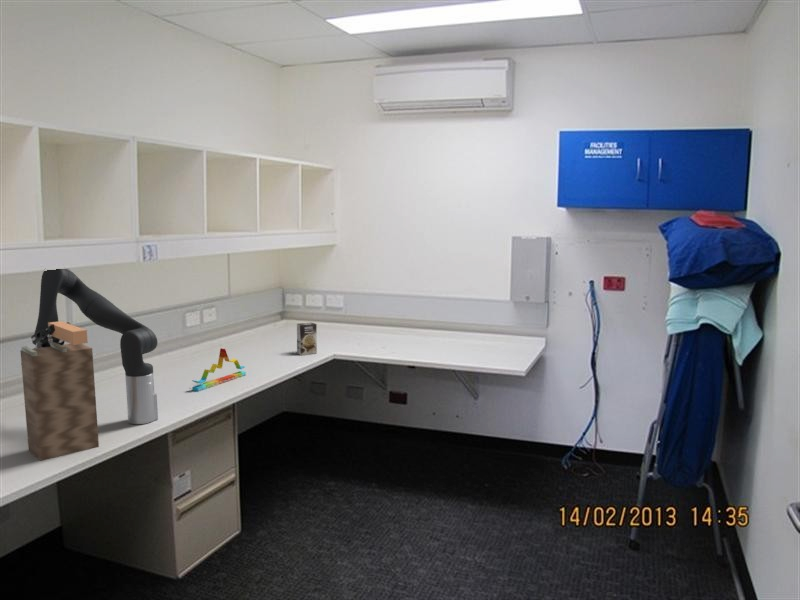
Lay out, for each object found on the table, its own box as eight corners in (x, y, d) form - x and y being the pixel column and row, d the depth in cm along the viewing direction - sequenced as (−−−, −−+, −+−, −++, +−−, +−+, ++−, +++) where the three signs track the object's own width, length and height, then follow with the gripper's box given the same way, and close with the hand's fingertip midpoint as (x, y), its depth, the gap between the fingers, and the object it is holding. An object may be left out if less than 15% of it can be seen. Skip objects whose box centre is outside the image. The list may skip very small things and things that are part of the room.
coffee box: (301, 355, 335) (300, 325, 333) (296, 353, 340) (296, 323, 338) (317, 353, 339) (316, 323, 337) (313, 351, 345) (312, 321, 343)
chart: (198, 392, 268) (196, 357, 266) (192, 391, 269) (190, 356, 267) (246, 375, 295) (245, 343, 293) (240, 375, 296) (239, 343, 294)
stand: (85, 437, 213) (78, 339, 209) (98, 446, 205) (91, 344, 200) (28, 450, 202) (20, 346, 197) (40, 460, 193) (31, 352, 189)
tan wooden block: (62, 333, 213) (61, 321, 212) (87, 342, 196) (86, 330, 195) (48, 334, 210) (47, 322, 209) (73, 344, 193) (72, 331, 192)
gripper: (23, 338, 214) (34, 317, 202) (68, 332, 224) (81, 312, 212) (28, 359, 212) (39, 339, 200) (74, 352, 222) (87, 333, 210)
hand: (61, 326), depth 206 cm, fingers closed on tan wooden block, 4 cm apart
